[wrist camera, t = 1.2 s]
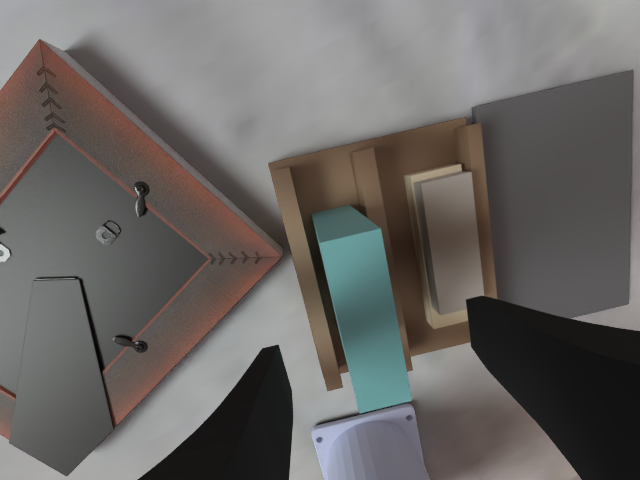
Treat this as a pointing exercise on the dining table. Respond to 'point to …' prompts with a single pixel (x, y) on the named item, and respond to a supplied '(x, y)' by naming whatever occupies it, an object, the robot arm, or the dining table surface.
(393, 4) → the dining table surface
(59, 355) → the picture frame
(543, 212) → the rubber mat
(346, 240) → the teal block
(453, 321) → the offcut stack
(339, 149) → the walnut rack
